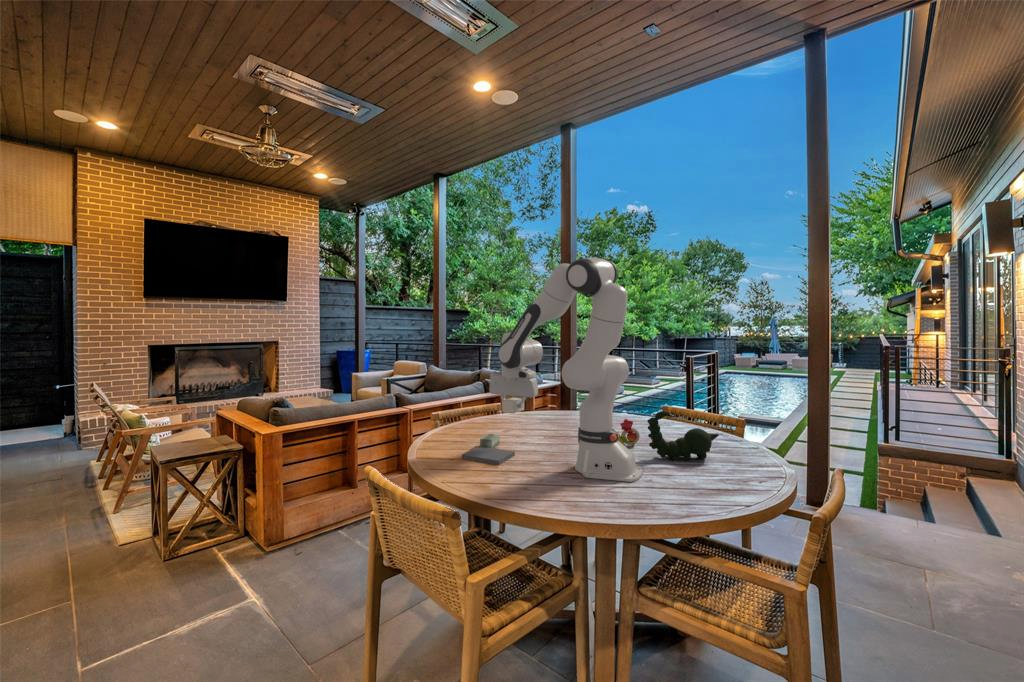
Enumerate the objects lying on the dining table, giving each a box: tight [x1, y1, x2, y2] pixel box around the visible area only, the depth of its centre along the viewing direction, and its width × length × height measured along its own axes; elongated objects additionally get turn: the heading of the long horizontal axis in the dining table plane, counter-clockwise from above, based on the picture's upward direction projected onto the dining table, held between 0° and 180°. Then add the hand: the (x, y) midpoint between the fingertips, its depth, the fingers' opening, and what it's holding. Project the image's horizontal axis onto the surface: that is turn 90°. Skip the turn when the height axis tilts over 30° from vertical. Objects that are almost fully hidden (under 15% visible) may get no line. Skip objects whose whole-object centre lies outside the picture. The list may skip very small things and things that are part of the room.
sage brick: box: [479, 433, 500, 449], centre depth 179 cm, size 5×8×4 cm, turn 159°
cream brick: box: [501, 397, 525, 414], centre depth 175 cm, size 5×8×4 cm, turn 144°
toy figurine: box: [646, 410, 720, 462], centre depth 162 cm, size 9×19×25 cm
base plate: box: [461, 445, 516, 466], centre depth 167 cm, size 16×12×2 cm
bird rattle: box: [618, 418, 640, 447], centre depth 179 cm, size 6×11×9 cm
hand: (513, 406), depth 175 cm, fingers closed on cream brick, 5 cm apart
